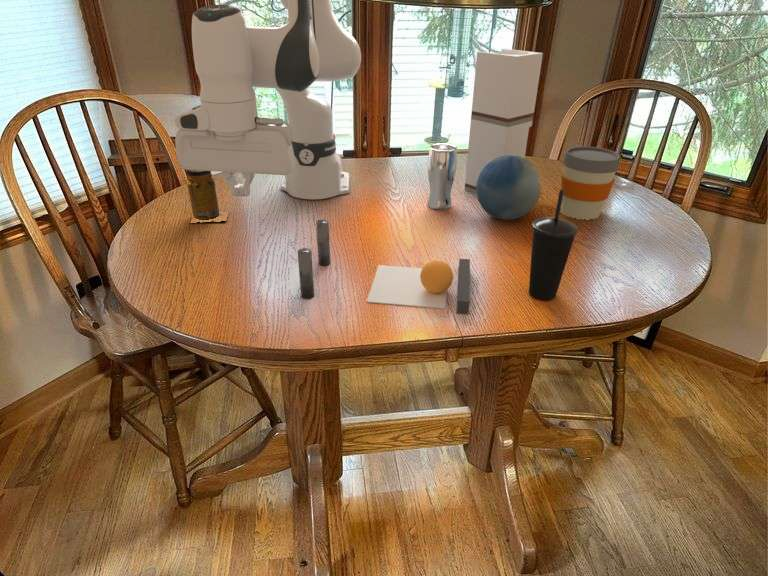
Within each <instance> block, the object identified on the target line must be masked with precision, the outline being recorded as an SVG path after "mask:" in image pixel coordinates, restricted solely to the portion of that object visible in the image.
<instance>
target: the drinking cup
mask: <svg viewBox="0 0 768 576" xmlns="http://www.w3.org/2000/svg"><path fill="white" fill-rule="evenodd" d="M563 193H564V190H561V189H559V192H558V197H557V203H556V209H555V213H554V216H547V217H545V216H544V217H540V218H536V219H535V220H533V222H532V223H531V228H532V239H531V240H532V242H531V253H530V254H531V255H530V271H529V284H528V285H529V286H528V294H529V296H530V297H531V298H533V299H536V300H538V301H542V302H547V301H548V302H549V301H552V300H555V298H556V297H557V293H558V290H559V286H560V283H561V280H562V278H563V275H564V272H565V268H566V265H567V262H568V258H569V255H570V253H571V249H572V247H573V243H574V240H575V237H576V235H577V234H578V232H579V227H578V226H577V224H575V223H573V222H572V221H569V220H567V219H565V218H562V217H560V214H561V210H562V198H563Z"/></svg>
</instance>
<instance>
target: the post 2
mask: <svg viewBox="0 0 768 576" xmlns="http://www.w3.org/2000/svg"><path fill="white" fill-rule="evenodd" d="M315 222H316V224H315V227H316V239H317V240H316V244H317V260H318V265H319V266H322V267H326V266H330V265H331V246H330V245H331V244H330V225H329V223H330V222H329V220H326V219H319V220H316V221H315Z"/></svg>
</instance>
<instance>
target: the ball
mask: <svg viewBox="0 0 768 576" xmlns="http://www.w3.org/2000/svg"><path fill="white" fill-rule="evenodd" d="M422 268H423V269H422V271H421V274H420V279H421V283H422V285H423V286H424V288H425V289H426V290H428V291H430V292H432V293H441V292H444V291H446V290H448V289H449V288H450V287H451V286H452V284H453V281H454V272H453V270H452V268H451V266H450V265H449V264H448V263H447V262H445V261H442V260H438V259H437V260H435V259H434V260H431V261H429V262H427V263H426V264H424V266H423V267H422Z"/></svg>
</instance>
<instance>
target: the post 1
mask: <svg viewBox="0 0 768 576" xmlns="http://www.w3.org/2000/svg"><path fill="white" fill-rule="evenodd" d="M312 253H313V252H312V249H310V248H308V247H307V248H306V247H305V248H299V249H298V250H297V261H298V272H299V274H298V275H299V284H300V285H299V286H300V297H301V299H305V300H310V299H313V298H314V297H315V285H314V284H315V283H314V282H315V281H314V270H313V255H312Z"/></svg>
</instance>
